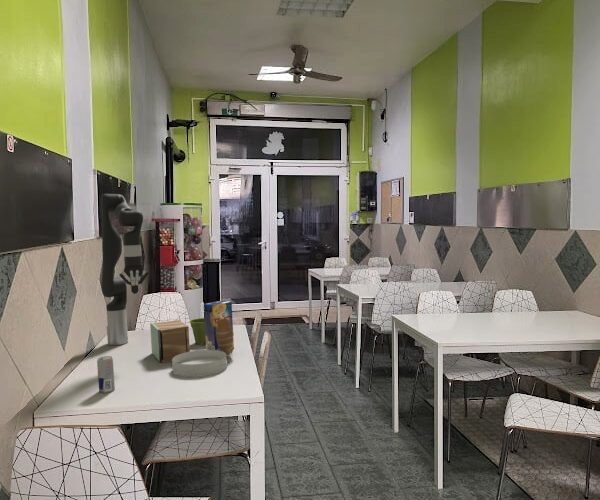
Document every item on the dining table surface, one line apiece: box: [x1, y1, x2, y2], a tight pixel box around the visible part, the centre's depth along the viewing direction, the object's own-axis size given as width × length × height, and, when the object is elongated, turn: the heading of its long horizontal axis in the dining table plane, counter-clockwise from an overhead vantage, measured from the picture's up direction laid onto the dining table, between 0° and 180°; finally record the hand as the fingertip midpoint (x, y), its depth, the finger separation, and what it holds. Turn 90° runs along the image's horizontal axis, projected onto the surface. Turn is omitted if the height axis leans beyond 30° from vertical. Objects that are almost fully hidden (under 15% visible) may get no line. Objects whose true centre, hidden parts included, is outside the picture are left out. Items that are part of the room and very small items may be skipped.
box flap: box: [149, 322, 163, 363], centre depth 226 cm, size 19×1×14 cm, turn 26°
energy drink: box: [96, 355, 116, 394], centre depth 184 cm, size 5×5×12 cm
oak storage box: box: [153, 319, 191, 363], centre depth 229 cm, size 18×12×14 cm, turn 26°
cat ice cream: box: [216, 315, 234, 357], centre depth 224 cm, size 9×8×18 cm
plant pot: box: [188, 317, 206, 345], centre depth 252 cm, size 12×12×11 cm
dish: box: [171, 349, 228, 378], centre depth 208 cm, size 22×22×5 cm
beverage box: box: [203, 300, 235, 351], centre depth 235 cm, size 7×11×22 cm, turn 138°
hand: (135, 293), depth 229 cm, fingers closed
